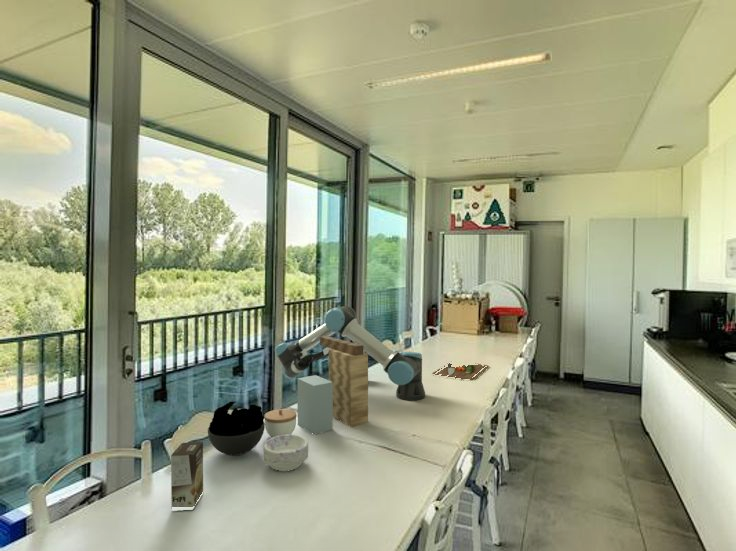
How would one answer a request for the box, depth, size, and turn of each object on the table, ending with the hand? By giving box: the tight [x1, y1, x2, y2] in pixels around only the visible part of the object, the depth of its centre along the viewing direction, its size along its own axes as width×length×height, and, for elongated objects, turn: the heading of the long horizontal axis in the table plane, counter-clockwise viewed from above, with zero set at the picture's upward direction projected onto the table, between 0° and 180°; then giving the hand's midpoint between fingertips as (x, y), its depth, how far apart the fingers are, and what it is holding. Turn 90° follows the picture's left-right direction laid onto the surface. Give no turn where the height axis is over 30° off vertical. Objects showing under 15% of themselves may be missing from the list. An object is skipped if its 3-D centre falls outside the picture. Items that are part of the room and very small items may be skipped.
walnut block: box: [319, 336, 364, 356], centre depth 199 cm, size 30×4×4 cm, turn 37°
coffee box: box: [170, 441, 204, 508], centre depth 126 cm, size 9×6×16 cm
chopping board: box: [431, 362, 490, 381], centre depth 281 cm, size 45×27×3 cm, turn 151°
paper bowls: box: [262, 434, 309, 472], centre depth 150 cm, size 15×15×8 cm
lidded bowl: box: [263, 408, 297, 438], centre depth 174 cm, size 13×13×11 cm
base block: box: [296, 374, 334, 435], centre depth 184 cm, size 14×9×20 cm, turn 37°
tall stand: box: [328, 349, 369, 427], centre depth 194 cm, size 18×9×30 cm, turn 37°
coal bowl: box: [207, 401, 266, 457], centre depth 159 cm, size 20×20×19 cm
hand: (318, 349), depth 215 cm, fingers open, 13 cm apart
